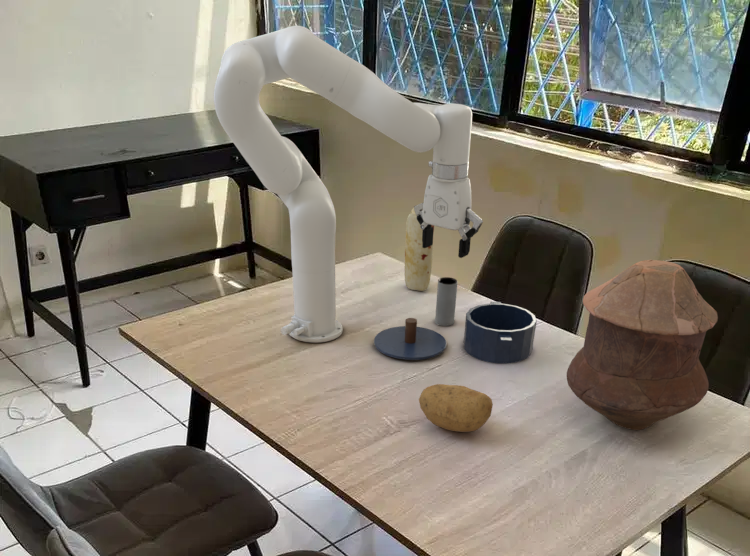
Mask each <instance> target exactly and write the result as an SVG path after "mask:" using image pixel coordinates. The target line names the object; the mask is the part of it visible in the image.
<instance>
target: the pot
mask: <svg viewBox="0 0 750 556" xmlns="http://www.w3.org/2000/svg"><path fill="white" fill-rule="evenodd" d="M536 328H537V318H536V315H535V314H534V313H532V312H531V311H530V310H528V309H527V308H524V307H521V306H519V305H513V304H508V303H502V301H490V302H489V303H483V304H478V305H476V306H474V307H470V308H469V310H468V311H467V312H466V313H465V321H464V330H463V331H464V332H463V349H464V351H465V352H466V354H468V355H469V356H471V357H472V358H474V359H476V360H479V361H482V362H486V363H491V364H501V365H502V364H515V363H519V362H522V361H524V360H527V359H528V358H529V357H530V356H531V354H532V351H533V347H534V341H535V336H536Z"/></svg>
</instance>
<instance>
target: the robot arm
mask: <svg viewBox="0 0 750 556" xmlns="http://www.w3.org/2000/svg"><path fill="white" fill-rule="evenodd" d="M289 78H291V79H292V80H293V81H295V82H296V83H298V84H300V85H301V86H304V87H305V88H307V89H309V90H310V91H312V92H314V93H315V94H318V95H319V96H321V97H322V98H324V99H326V100H328V101H329V102H331V103H332V104H334V105H336V106H337V107H339V108H341V109H343V110H344V111H346V112H347V113H349V114H350V115H352V116H353V117H355V118H356V119H358V120H360V121H362V122H364V123H366V124H367V125H369V126H370V127H372V128H373V129H375V130H377V131H378V132H380V133H381V134H383V135H384V136H386V137H388V138H389V139H391V140H393V141H395V142H396V143H398V144H400V145H401V146H403V147H405V148H407V149H409V150H411V151H412V152H415V153H426V152H429V151H430V150H432V160H430V161H428V167H429V168H431V174H429V175H428V177H427V181H426V185H425V190H424V196H423V202H421V203H419V204H416V205H414V206H413V208H414V211H415V214H416V215H417V220H418V222H419V224H420V228H421V229H422V230H423V232H422V242H423V244H422V247H423V248H427V247H429V246H431V245H433V246H434V244H433V231H434V232H435V228H434V229H433V227H431V226H432V225H433V226H434V227H438V228H441V229H442V228H443V229H446V230H450V231H457V232H458V233H459V235H460V237H461V238H460V239H459V241H458V258H459V259H462V258H465V257H466V256H468V255H469V253H470V250H471V239H472V238H473V237H474V235H476V234H477V233H478V232H479V229H481V226H482V225H483V223H484V221H483V219H482V218H481V217H480V216H479V215H478V214H476V212H474V211H473V210H472V207H473V205H472V204H473V203H472V202H473V201H472V199H473V198H472V185H471V179H470V178H469V165H470V151H471V139H472V138H471V137H472V125H473V111H472V109H471V107H470V106H468V105H465V104H461V103H444V104H441V105H440V104H438V105H437V104H429V103H424V102H412V101H411V100H409V99H408V98H406V97H404V96H403V95H402V94H400V93H399V92H397V90H394V89H393V88H391V87H390V86H389V85H387V84H386V83H385V82H384V81H383V80H382V79H381V78H379V77H378V75H376V73H374V72H373V71H372V70H371V69H369V68H368V67H366V66H365V65H364V64H362V63H361V62H358V61H357V60H356V59H354V58H352V57H351V56H348V55H347V54H346V53H344V52H342V51H341V50H339V49H337V48H336V47H334V46H333V45H331V44H329V43H328V42H326V41H325V40H323V39H321V38H320V37H318V36H317V35H315V34H314V33H313V32H312V31H311V30H310V29H309V28H307V27H306V26H303V25H291V26H288V27H284V28H281V29H278V30H275V31H272V32H268V33H265V34H261V35H257V36H253V37H251V38H246V39H243V40H240V41H236V42H234V43H232V44H231V45H230V46H228V47H227V48H226V49H225V51H224V52H223V54H222V57H221V59H220V65H219V70H218V72H217V76H216V79H215V83H214V88H213V104H214V109H215V114H216V116H217V119H218V121H219V122H218V123H219V124H220V126H221V127H222V129H223V130H224V132H225V133H226V135H227V136H228V138H229V139H230V140H231V142H232V143H233V144H234V146H235V147H236V149H237V150H238V152H239V153H240V155H241V156H242V157H243V159H244V160H245V162H246V163H247V164H248V165H249V167H250V168H251V169H252V171H253V172H254V173H255V175H256V177H257V178H258V179H259V181H260V182H261V184H262V185H263V186H264V187H265V188H266V189H267V190H268V191H270V192H271V193H274V194H275V195H277V196H278V198H279V199H280V200H281V201H282V203H283V204H284V205H285V206H286V208H287V209H288V214H289V215H288V216H289V226H290V227H289V229H290V254H291V256H290V257H291V258H290V259H291V268H292V269H291V271H292V272H291V274H292V295H293V297H292V298H293V315H291V321H290V322H289V323H288V324H286V325H284V326H282V327H280V333H281V335H282V336H287V335H289V336H290V337H292V338H293V339H295V340H297V341H299V342H304V343H325V342H330V341H333V340H335V339H338V338H339V337H340V336H341V335H342V334H343V325H342V323H341V322H340V321H339V320H337V305H336V304H337V303H336V302H337V300H336V297H337V296H336V295H337V293H336V234H337V233H336V232H337V215H336V209H335V206H334V203H333V200H332V198H331V197H332V196H331V195H330V192H329V190H328V188H327V187H326V185H325V184H324V182H323V181H322V179H321V178H320V177H319V175H318V174H317V173H316V171H315V170H314V169H313V167H312V166H311V164H310V163H309V162H308V160H307V159H306V157H305V156H304V154H303V153H302V151H301V150H300V149H299V148H298V146H297V145H296V144H295V143H294V142H293V141H292V140H291V139H289V138H288V137H286V136H283V135H281V133H280V132H279V131H278V129H277V128H276V126H275V124H273V122H272V120H271V119H270V118H269V116H268V115H267V114H266V113H265V111H264V110H263V108H262V106H261V103H260V94H261V92H262V89H263V88H264V86H266V85H269V84H272V83H276V82H279V81H282V80H283V81H284V80H285V79H289ZM471 222H472V226H470V224H471Z"/></svg>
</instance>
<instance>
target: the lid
mask: <svg viewBox="0 0 750 556" xmlns="http://www.w3.org/2000/svg"><path fill="white" fill-rule="evenodd" d="M373 345H374V347H375V349H376V350H377V351H378V352H380V354H381V353H382V354H383V355H385V356H387V357H391V358H394V359H397V360H398V359H399V360H407V361H419V360H420V361H421V360H427V359H431V358H434V357H437V356H439V355H441V354H442V353H444V351H445V350H446V348H447V340H446V338H445V337H444V336H443V335H442V334H441V333H440V332H438V331H435V330H433V329H430V328H427V327H423V326H418V319H416V318H413V317H408V318H406V319H405V321H404V325H400V326H393V327H389V328H386V329H383V330H381V331H379V332H378V333H377V334H376V335H375V336H374V339H373Z"/></svg>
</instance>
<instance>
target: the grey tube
mask: <svg viewBox="0 0 750 556" xmlns="http://www.w3.org/2000/svg"><path fill="white" fill-rule="evenodd" d="M458 283H459V282H458V280H457V279H456V278H454V277H449V276H444V277H440V278H439V279H438V280H437V287H436V288H437V290H436V302H435V303H436V305H435V316H434V318H435V319H434V322H435V324H436V325H439V326H442V327H449V326H452V325H454V323H455V317H456V316H455V315H456V305H457V293H458Z"/></svg>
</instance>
